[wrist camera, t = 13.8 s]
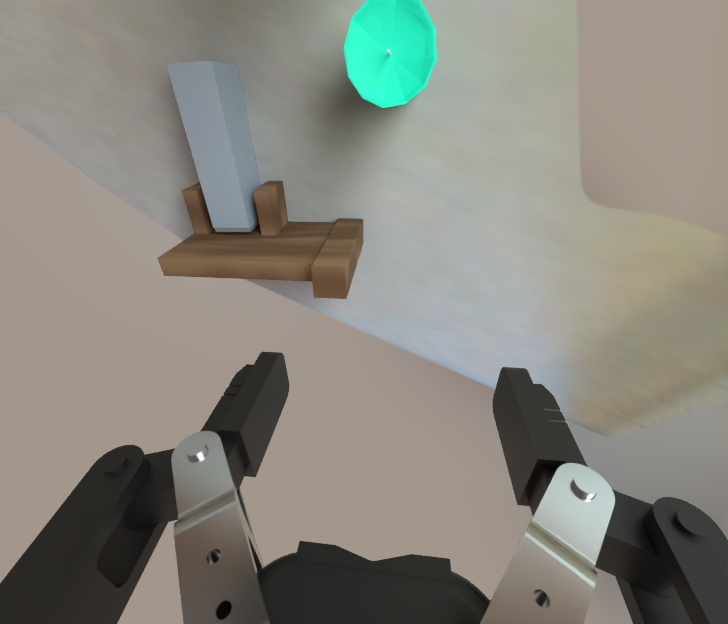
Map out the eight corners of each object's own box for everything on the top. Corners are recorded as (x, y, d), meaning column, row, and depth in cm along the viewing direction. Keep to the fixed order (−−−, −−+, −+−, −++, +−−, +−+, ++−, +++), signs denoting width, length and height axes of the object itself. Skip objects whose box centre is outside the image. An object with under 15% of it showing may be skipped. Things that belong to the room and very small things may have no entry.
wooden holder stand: (204, 180, 38) (122, 216, 27) (362, 181, 36) (342, 220, 25) (219, 238, 41) (152, 290, 31) (363, 242, 40) (346, 298, 29)
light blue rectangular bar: (197, 67, 32) (165, 63, 28) (237, 64, 31) (211, 60, 27) (234, 217, 40) (214, 232, 36) (267, 217, 39) (250, 232, 35)
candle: (422, 107, 32) (428, 114, 22) (359, 100, 32) (336, 103, 22) (436, 25, 28) (450, -13, 18) (365, 17, 28) (342, -25, 19)
